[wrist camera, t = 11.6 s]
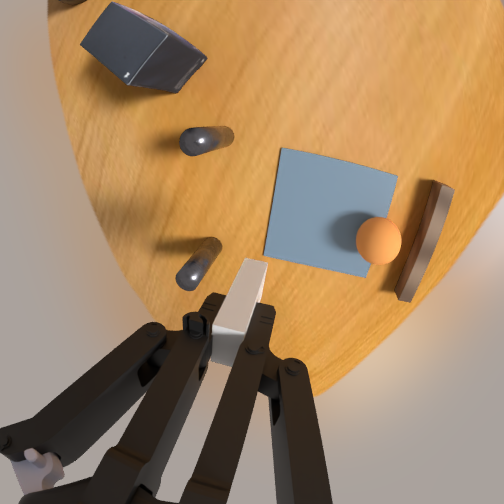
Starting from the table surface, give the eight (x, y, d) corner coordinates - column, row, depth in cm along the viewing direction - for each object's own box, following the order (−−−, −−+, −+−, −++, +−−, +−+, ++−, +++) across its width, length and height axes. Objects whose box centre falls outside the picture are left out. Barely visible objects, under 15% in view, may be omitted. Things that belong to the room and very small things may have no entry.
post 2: (204, 235, 36) (175, 268, 28) (222, 239, 36) (197, 273, 28) (203, 252, 37) (175, 287, 30) (221, 256, 37) (197, 293, 29)
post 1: (214, 125, 29) (180, 126, 22) (235, 127, 29) (207, 128, 21) (211, 145, 31) (178, 154, 23) (232, 148, 30) (204, 157, 22)
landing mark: (282, 147, 29) (281, 147, 29) (397, 175, 27) (397, 176, 27) (263, 255, 36) (263, 255, 36) (365, 277, 34) (365, 277, 34)
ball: (409, 223, 28) (370, 208, 31) (404, 231, 24) (357, 213, 27) (395, 264, 30) (358, 247, 33) (387, 279, 26) (343, 259, 29)
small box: (211, 56, 26) (170, 33, 16) (177, 95, 28) (127, 89, 19) (159, 20, 24) (111, -2, 14) (129, 56, 27) (76, 46, 17)
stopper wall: (433, 180, 26) (442, 184, 24) (445, 184, 26) (454, 189, 24) (394, 289, 34) (398, 300, 32) (405, 292, 34) (410, 302, 32)
